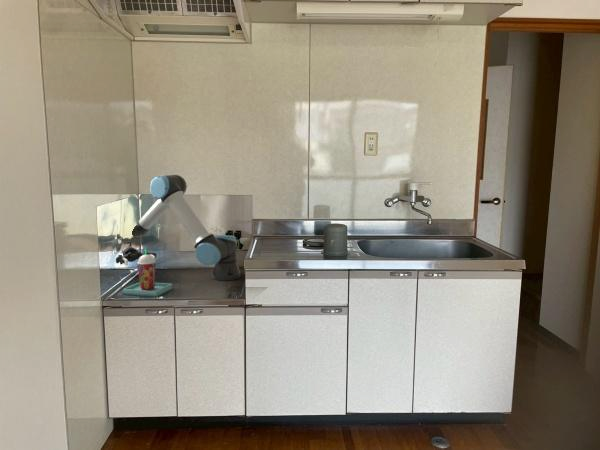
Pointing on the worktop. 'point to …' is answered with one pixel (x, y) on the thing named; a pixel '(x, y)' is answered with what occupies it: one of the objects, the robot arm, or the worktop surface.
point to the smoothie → (146, 272)
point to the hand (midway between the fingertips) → (141, 260)
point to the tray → (157, 291)
